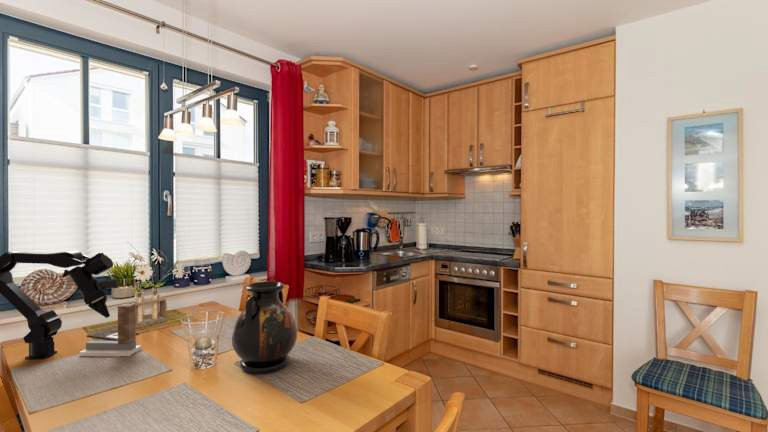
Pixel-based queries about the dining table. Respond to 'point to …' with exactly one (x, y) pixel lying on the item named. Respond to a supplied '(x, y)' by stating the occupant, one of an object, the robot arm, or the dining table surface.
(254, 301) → the amphora vase
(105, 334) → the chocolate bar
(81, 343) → the dining table surface
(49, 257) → the robot arm
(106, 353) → the board
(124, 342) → the walnut baton
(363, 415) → the dining table surface
